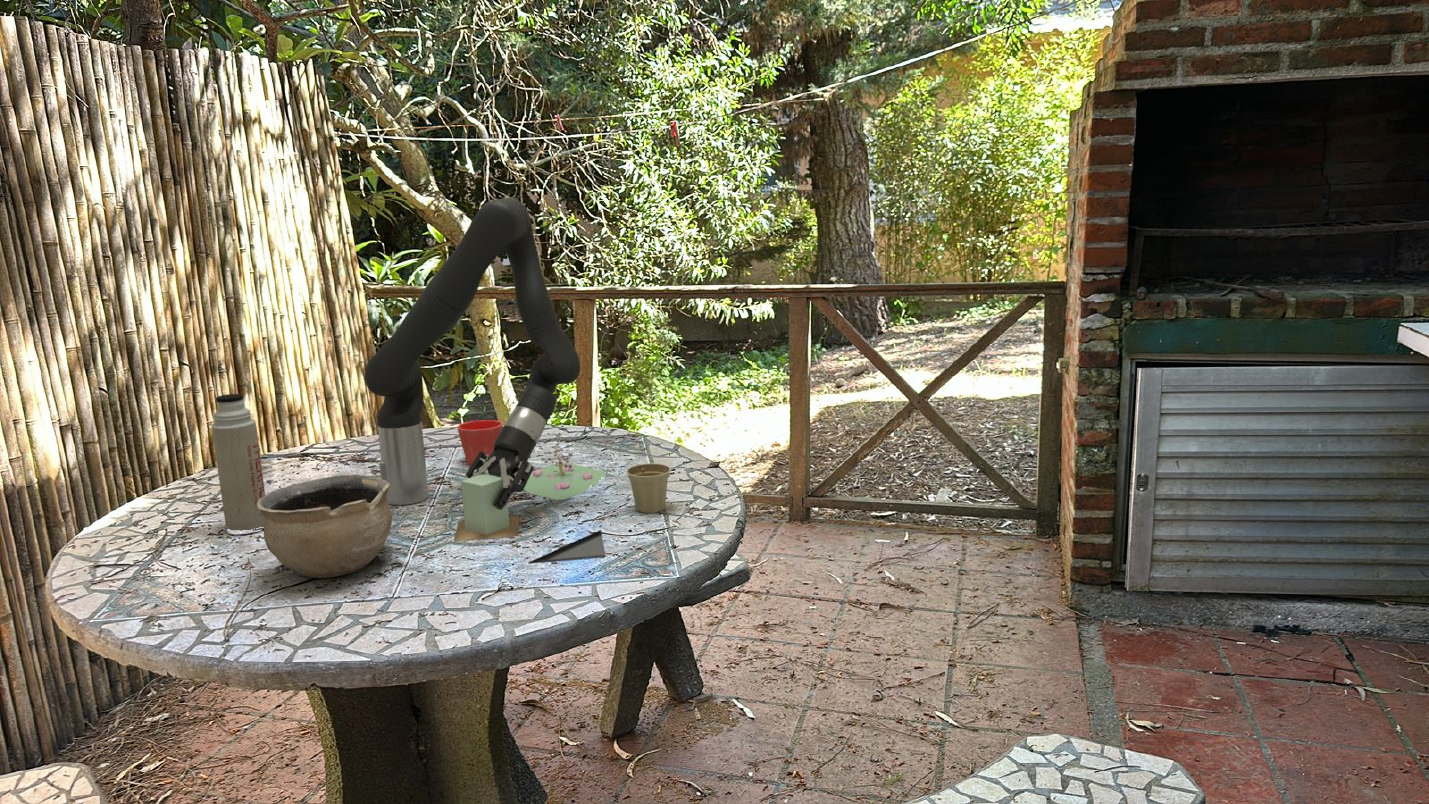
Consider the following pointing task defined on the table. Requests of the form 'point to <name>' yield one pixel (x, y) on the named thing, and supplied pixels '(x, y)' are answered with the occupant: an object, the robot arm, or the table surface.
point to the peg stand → (506, 532)
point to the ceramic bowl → (327, 524)
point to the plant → (562, 479)
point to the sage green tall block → (483, 504)
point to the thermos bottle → (238, 463)
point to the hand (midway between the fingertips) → (481, 504)
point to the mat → (577, 550)
